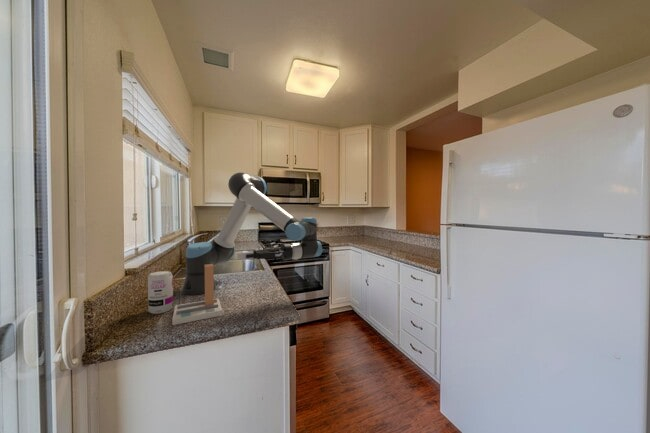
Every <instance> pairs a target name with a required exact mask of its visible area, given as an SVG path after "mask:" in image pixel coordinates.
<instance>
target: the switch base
mask: <svg viewBox="0 0 650 433" xmlns="http://www.w3.org/2000/svg"><path fill="white" fill-rule="evenodd" d="M173 309H174V310H173V315H172V321H171V322H172V323H171V325H172V326H174V325H180V324H185V323H190V322H195V321H196V322H197V321H201V320H207V319H210V318H216V317H221V316H223V309H222V305H221V302H220V299H219V298H214V305H210V306H205V300H200V301H194V302H188V303H187V302H186V303H182V304H176V305H175V306H174V308H173Z"/></svg>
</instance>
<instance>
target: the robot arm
mask: <svg viewBox="0 0 650 433" xmlns="http://www.w3.org/2000/svg"><path fill="white" fill-rule="evenodd" d="M227 186H228V189H229V191H230V193H231V194H232V195H233V196H235V200H234V203H233V204H232V207H231V209H230V210H229V213H228V216H227V217H226V220H225V221H224V223H223V225H222V228H221V229H220V231H219V234H218V235H215V236H214V237H213V239H212V241H211V242H210V241H200V242H195V243H191V244H189V245H187V246H186V248H185V255H184V256H185V278H184V281H183V283H182V287H181V293H182V294H184V295H188V296H189V295H190V296H194V295H202V294H205V265H207V264H213V266H216V265H220V264H224V263H226V262H229V261H231V260H232V259H233V258H234V257H235V255H237V256H236V259H237V261H242V260H264V259H265V260H266V259H280V258H281V259H282V261H289V260H295V261H298V260H299V259H306V258H316V257H320V256H321V255H322V252H323V246H322V245H323V244H322V243H321V242H320V241H319V240H318V231H317V230H318V223H317V218H316V217H302V218H301V220H298V219H297V218H295V217H294V216H293V215H292V214H290V213H289V212H287V210H285V209H284V208H282V207H281V206H280V205H279V204H277V203H276V202H274V201H273V200H272V199H270V198H269V197H268V196H266V194H267V189H268V186H267V183H266V181H265V179H264V178H262V177H260V176H258V175H255V174H250V173H246V172H236V173H234V174H233V175H231V176H230V178H229V180H228V184H227ZM251 208H254V209H255V210H256V211H257V212H259V214H260V215H262V216H264V217H265V218H266V219H268V220H269V221H270V222H272V224H274V225H275V226H277V227H278V228H280V229H281V230H282V231H283V232H284V233H285V236H286V238H287V239H288V240H290V241H293V242H291V243H282V244H281V245H280V248H278V247H274V248H272V247H271V248H266V249H265V248H264V249H259V250H258V249H257V250H252V251H245V252H237V253H236V250H235V249H236V247H235V245H236V244H235V243H236V242H235V240H236V238H237V235H238V234H239V232H240V230H241V228H242V227H243V223H244V222H245V220H246V218H247V216H248V214H249V213H250V210H251ZM298 241H301V242H298ZM235 253H236V254H235ZM216 288H217V283H216V280H215V279H214V290H215V289H216Z"/></svg>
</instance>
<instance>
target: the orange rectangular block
mask: <svg viewBox="0 0 650 433" xmlns="http://www.w3.org/2000/svg"><path fill="white" fill-rule="evenodd" d="M214 266H215V265H213V264H207V265H205V293H204V301H205V306H210V305H214V299H215V289H214V280H215V277H214V275H215V274H214V273H215V272H214V269H215V268H214Z"/></svg>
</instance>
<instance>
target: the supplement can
mask: <svg viewBox="0 0 650 433" xmlns="http://www.w3.org/2000/svg"><path fill="white" fill-rule="evenodd" d="M173 280H174V276H173V274H172V272H171V271H170V270H160V271H155V272H151V273H149V276H148V278H147V303H148V304H147V306H148V308H147V311H148V313H150V314H153V315H159V314H163V313H167V312H168V311H171V310H172V308H174V281H173Z"/></svg>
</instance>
